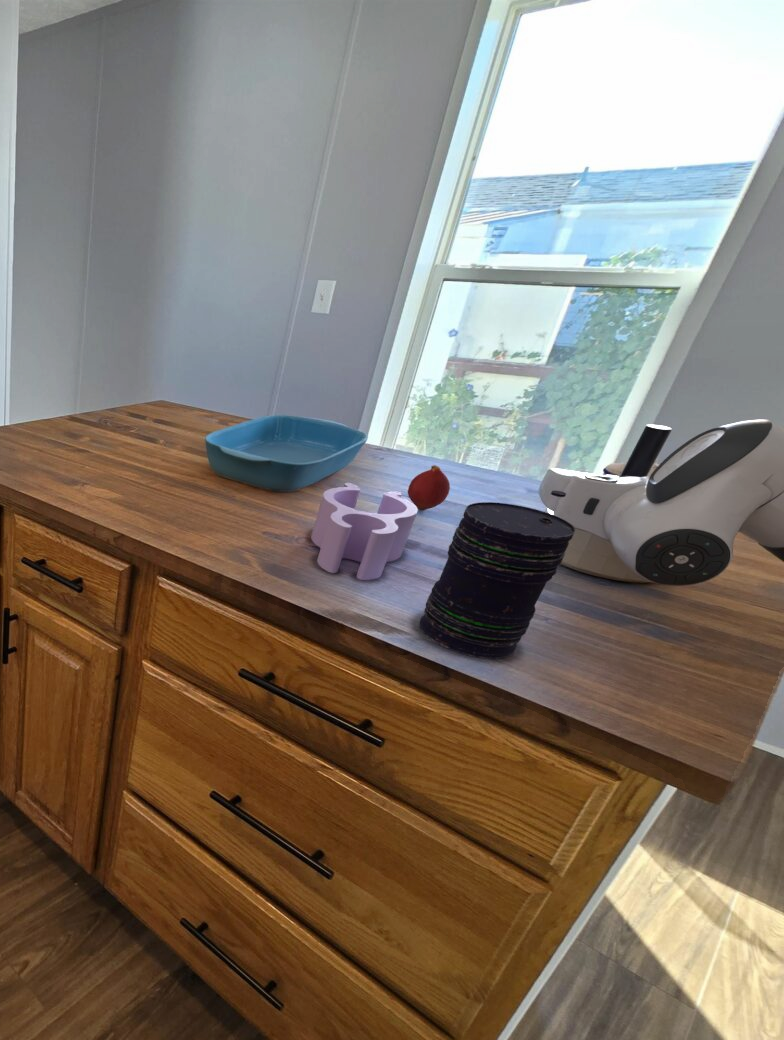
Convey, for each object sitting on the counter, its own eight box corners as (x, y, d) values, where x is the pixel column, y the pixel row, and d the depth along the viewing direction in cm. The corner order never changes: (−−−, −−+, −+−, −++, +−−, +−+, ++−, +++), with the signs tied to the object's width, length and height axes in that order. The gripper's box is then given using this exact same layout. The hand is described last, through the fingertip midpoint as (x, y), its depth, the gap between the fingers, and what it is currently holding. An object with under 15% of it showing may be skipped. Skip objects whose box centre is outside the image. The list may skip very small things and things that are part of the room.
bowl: (658, 553, 99) (680, 516, 96) (687, 597, 87) (713, 557, 84) (525, 529, 106) (542, 494, 103) (535, 566, 94) (553, 528, 91)
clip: (397, 588, 88) (414, 541, 84) (298, 565, 93) (311, 520, 90) (403, 537, 103) (419, 495, 99) (318, 519, 108) (329, 479, 105)
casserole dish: (289, 507, 113) (299, 467, 109) (178, 474, 127) (185, 438, 124) (374, 465, 134) (385, 430, 131) (271, 441, 149) (279, 409, 145)
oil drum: (446, 657, 73) (513, 507, 64) (401, 612, 82) (455, 474, 73) (537, 661, 73) (617, 510, 64) (483, 615, 82) (547, 477, 73)
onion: (423, 503, 116) (439, 459, 112) (448, 515, 111) (466, 470, 107) (394, 504, 115) (409, 460, 111) (418, 517, 110) (435, 471, 106)
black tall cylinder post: (616, 544, 97) (681, 425, 88) (624, 558, 92) (693, 434, 84) (569, 536, 99) (627, 419, 90) (574, 549, 95) (636, 428, 86)
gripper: (781, 507, 75) (741, 475, 85) (559, 474, 84) (548, 448, 95) (748, 557, 78) (714, 520, 89) (538, 519, 88) (529, 490, 98)
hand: (626, 483), depth 92 cm, fingers closed on black tall cylinder post, 2 cm apart
